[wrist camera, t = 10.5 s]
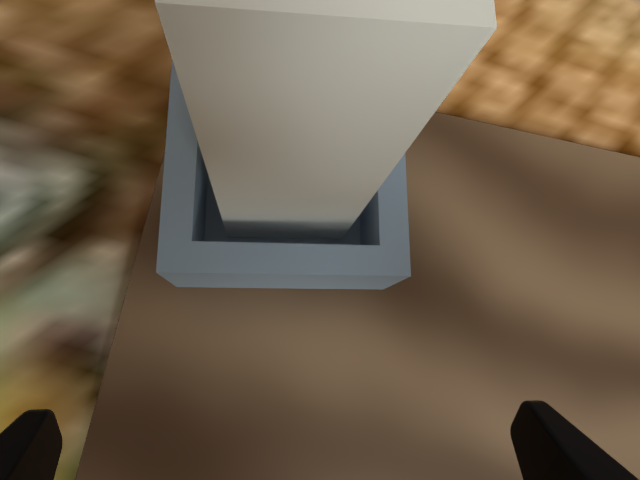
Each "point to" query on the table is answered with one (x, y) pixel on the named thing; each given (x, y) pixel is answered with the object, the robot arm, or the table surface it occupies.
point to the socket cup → (269, 253)
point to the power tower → (313, 98)
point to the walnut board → (397, 334)
